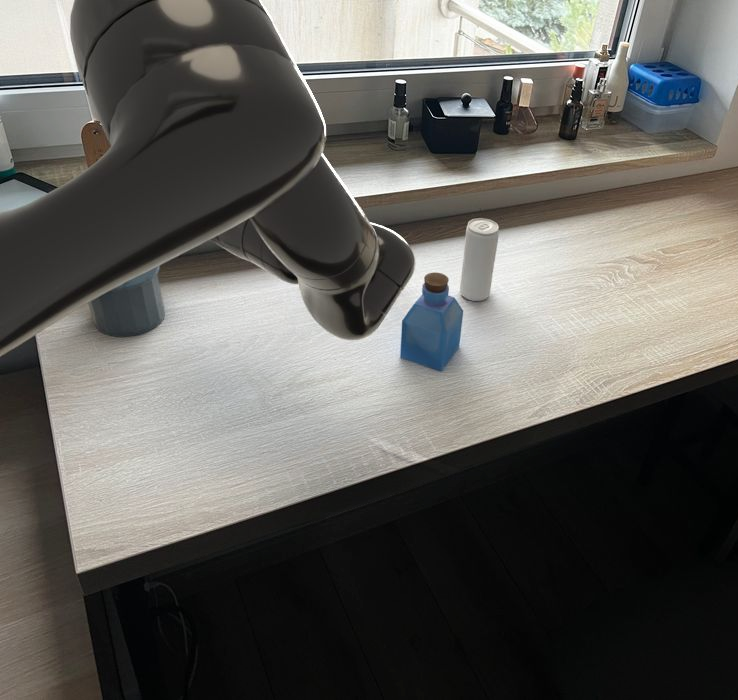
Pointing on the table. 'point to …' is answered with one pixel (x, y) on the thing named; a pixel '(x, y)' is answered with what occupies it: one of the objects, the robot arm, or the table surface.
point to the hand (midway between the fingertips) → (143, 160)
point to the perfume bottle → (432, 325)
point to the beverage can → (479, 258)
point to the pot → (129, 310)
